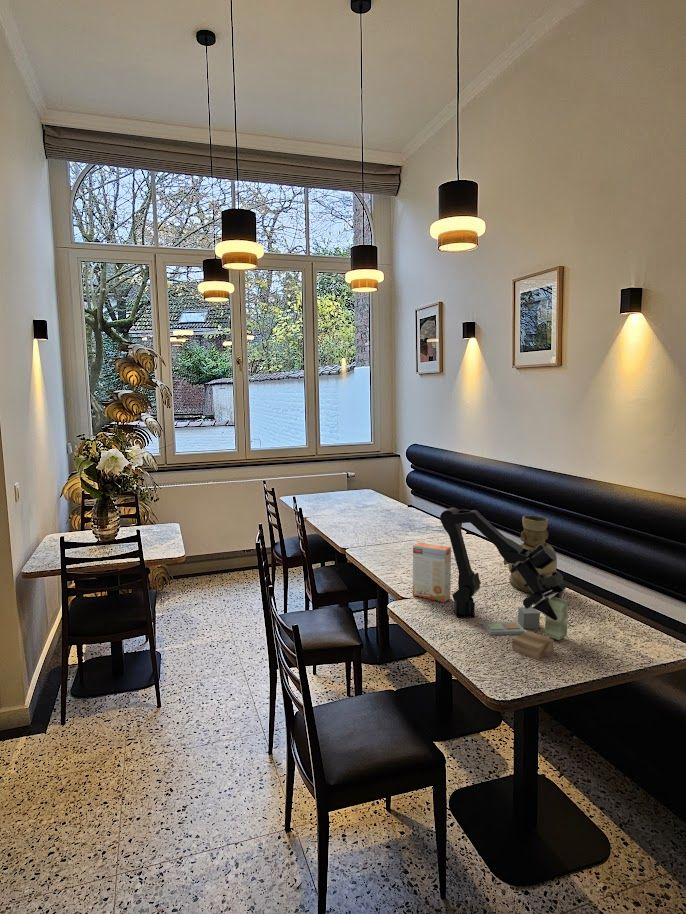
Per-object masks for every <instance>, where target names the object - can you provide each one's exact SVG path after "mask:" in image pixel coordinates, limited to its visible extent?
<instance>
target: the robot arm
mask: <svg viewBox="0 0 686 914" xmlns="http://www.w3.org/2000/svg"><path fill="white" fill-rule="evenodd" d="M439 520H440V523H441V524H442V528H444V531H445V532H446V533H447V535H448V536H449V540H450V544H451V549H452V551H453V555H454V560H455V562H456V566H457V570H458V580H457V583H458V584H457V586H458V590H456V591H455V592H454V593H453V594H452V595H451V596H452V598H453V602H454V604H453V605H454V606H453V608H454V609H452V612H453V614H454V615H455V617H456V618H459V619H460V618H475V609H476V607H475V606H476V603H475V602H474V598H473V597H474V596H475V594H477V592H478V591H479V590H480V589H481V584H482V582H481V580H480V576H479V575H480V574H479V572H474V571H473V568H472V566H471V563H470V560H469V556H468V553H467V552H468V551H467V548H466V544H465V540H464V537H463V533H462V529H463V524H469V523H470V524H471V525H472V526H474V528H475V529H477V530H478V531H479V532H480V533H481V534H482V535H483V536H484V537H485V538H486V539H488V540H489V541H490V542H491V543H492V544H493V545H494V546H495V547H496V550H497V552H498V553H499V555H500V556H501V557H502V559H503V561H504V560H505V561H506V562H508V563H511V564H513V565H512V568H511V573H513V572H517V571H518V573H519V574H520V575H521V577H522V578H523V580H524V581H525V583H526V584H525V585H524V586H525V587H526V588H527V587H529V588H530V590H531V591H532V593H530V595H528V596H527V597H525V598H524V599H523V600H522V606H523V607H525V608H526V609H527V608H530V607H532V608H533V609H536V610H537V611H538V612H539V613H542V614H544V615H545V616H546V615H547V616H548V617H550V618H552V619H553V620H557V617H556V615H555V613H554V611H553V610H552V608H551V606H550V605H549V599H551V598H553V597H556V598H560V599H562V594H564V592H563V591H564V590H566V589H567V586H566V584H565V583H564V582H563V579H564V575H563V574H562V573H561V572H560V571H559V570H556V571H555V572H553V573H552V576H549V577H546V576H545V575H544V574H540V573H539V572H538V570H537V569H539V568H540V569H544V568H545V567H546V566H548V565H549V564H551V563H552V562H553V561H555V560H556V557H557V556H556V557H555V555H554V553H553V552H552V551H551V550H550V549H549V548H547V547H546V546H544V545H543V544H540V545H539V546H538V547H537V548H536V549H535V550H533V551H531V550H528V549H525V548H522V546H520V544H519V543H518V542H516V541H515V540H513V539H510V538H508V537H506V536H504V535H503V534H502V533H501V532H500V531H499V529H497V528H496V527H495V526H493V524H492V523H490V522H489V520H487V519H486V518H485V517H484V516H483V515H482V514H481V513H480V512H479V511H478V510H476V509H473V510H469V509H458V508H457V507H450V508H447V509H445V510H443V511H442V512H441V514H440V516H439ZM527 558H529V559H528V560H527V561H525V560H526V559H527ZM518 561H521V562H519V563H518V564H517V565H515V564H514V563H516V562H518ZM536 568H537V569H536ZM511 573H510V574H511Z"/></svg>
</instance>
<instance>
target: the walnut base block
mask: <svg viewBox="0 0 686 914" xmlns="http://www.w3.org/2000/svg"><path fill="white" fill-rule="evenodd" d="M511 642H512V643H511V644H512V645H511V646H512V647H511V650H512V651H515V652H517V653H520V654H523V655H525V656H526V657H527V656H528V657H530V658H533V659H535V660H539V659H541V658H543V657H544V656H546V655H548V654H550V653H552V652H554V642H555V639H554V638H551V637H548V636H545V635H542V634H539V633H536V632H533V631H531V630H526V631H525V633H523V634H518V635H516V636H514V637H513V638H512V640H511Z"/></svg>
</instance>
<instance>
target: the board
mask: <svg viewBox="0 0 686 914" xmlns="http://www.w3.org/2000/svg"><path fill="white" fill-rule="evenodd" d="M482 626H484V627H483V628H484V629H485V631H486V632H487V633H488V635H489V636H495V635H496V636H497V635H499V636H500V635H521V634H523V633H525V632H526V631H525V630H524V629H523V627H522V626H521V625H520V624H519V623H518V621H491V622H490V621H489V622H488V621H487V622H482Z"/></svg>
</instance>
